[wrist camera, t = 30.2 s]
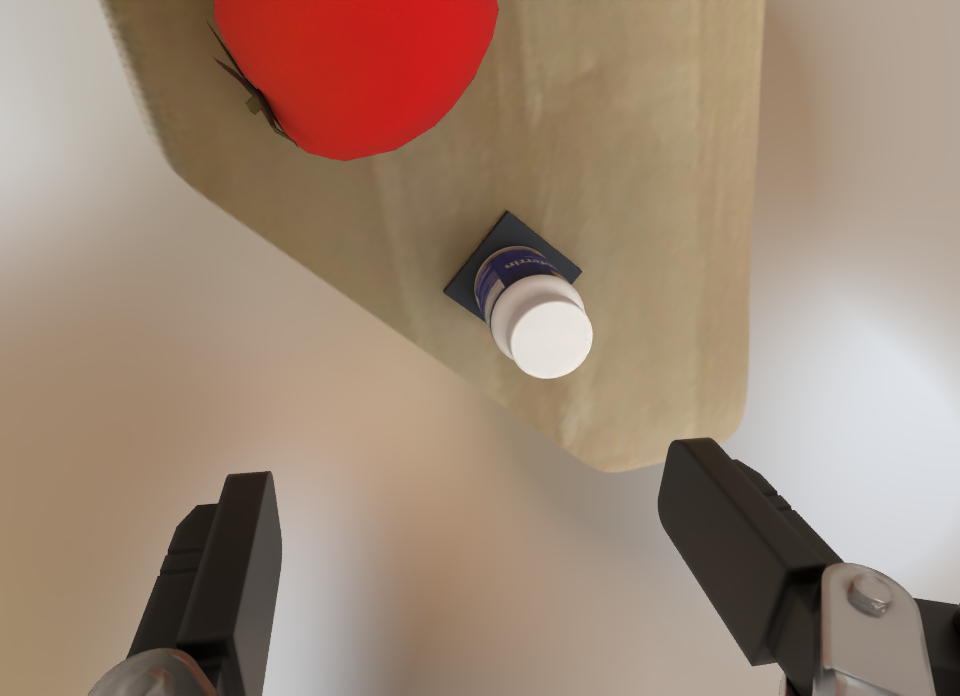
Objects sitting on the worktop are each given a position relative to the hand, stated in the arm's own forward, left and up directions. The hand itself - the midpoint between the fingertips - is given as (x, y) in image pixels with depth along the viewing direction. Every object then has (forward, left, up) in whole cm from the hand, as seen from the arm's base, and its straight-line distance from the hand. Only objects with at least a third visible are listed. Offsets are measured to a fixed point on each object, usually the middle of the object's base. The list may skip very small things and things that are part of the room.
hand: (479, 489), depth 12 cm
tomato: (-2, +10, -30) cm, 31 cm away
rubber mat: (+8, -6, -30) cm, 31 cm away
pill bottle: (+7, -6, -29) cm, 31 cm away
